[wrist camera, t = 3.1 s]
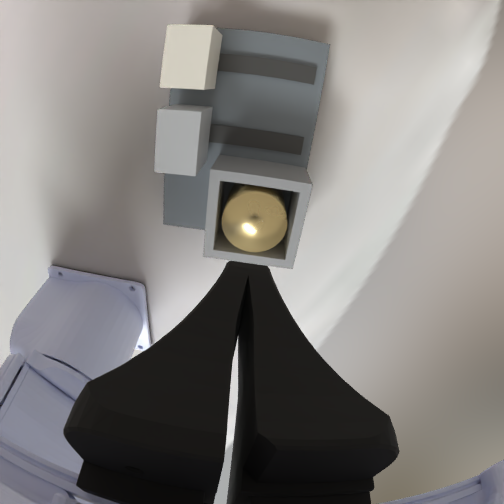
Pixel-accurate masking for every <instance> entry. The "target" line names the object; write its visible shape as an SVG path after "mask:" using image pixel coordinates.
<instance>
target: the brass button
mask: <svg viewBox="0 0 504 504" xmlns="http://www.w3.org/2000/svg"><path fill="white" fill-rule="evenodd" d="M222 229H223V232H224V234H225V236H226V238H227V239H228V240H229V241H230V242H231V243H232V244H233V245H234V246H235V247H237V248H239V249H241V250H244V251H248V252H262V251H266V250H269V249H271V248H273V247H274V246H276V245H277V244H278V243H279V242H280V241H281V240H282V239H283V237H284V235H285V233H286V230H287V215H286V209H285V202H284V195H283V192H282V190H281V189H276V188H269V187H263V186H256V185H249V184H242V183H235V184H234V185H233V187H232V188H231V190H230V193H229V196H228V199H227V202H226V206H225V209H224V212H223V215H222Z"/></svg>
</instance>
